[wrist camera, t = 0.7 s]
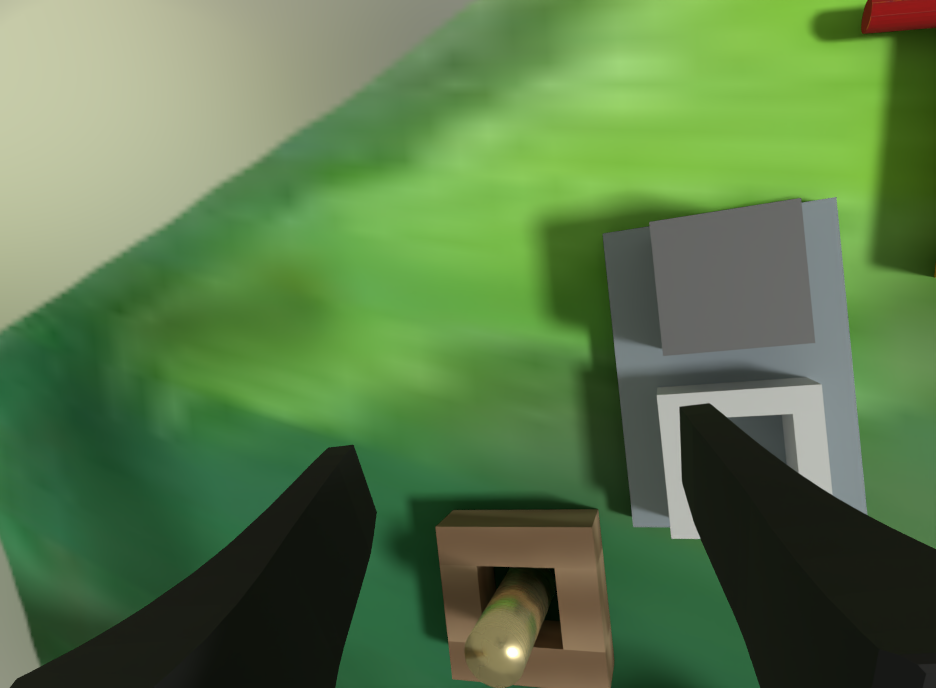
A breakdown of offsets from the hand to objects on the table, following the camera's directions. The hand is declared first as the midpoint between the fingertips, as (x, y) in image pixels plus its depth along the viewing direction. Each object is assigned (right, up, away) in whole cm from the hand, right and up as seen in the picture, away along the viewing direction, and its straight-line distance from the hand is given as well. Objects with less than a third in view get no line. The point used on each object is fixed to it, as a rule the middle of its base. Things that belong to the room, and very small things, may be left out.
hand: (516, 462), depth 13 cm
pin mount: (+3, -12, +23) cm, 26 cm away
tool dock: (+13, +1, +18) cm, 22 cm away
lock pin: (+3, -12, +23) cm, 26 cm away
